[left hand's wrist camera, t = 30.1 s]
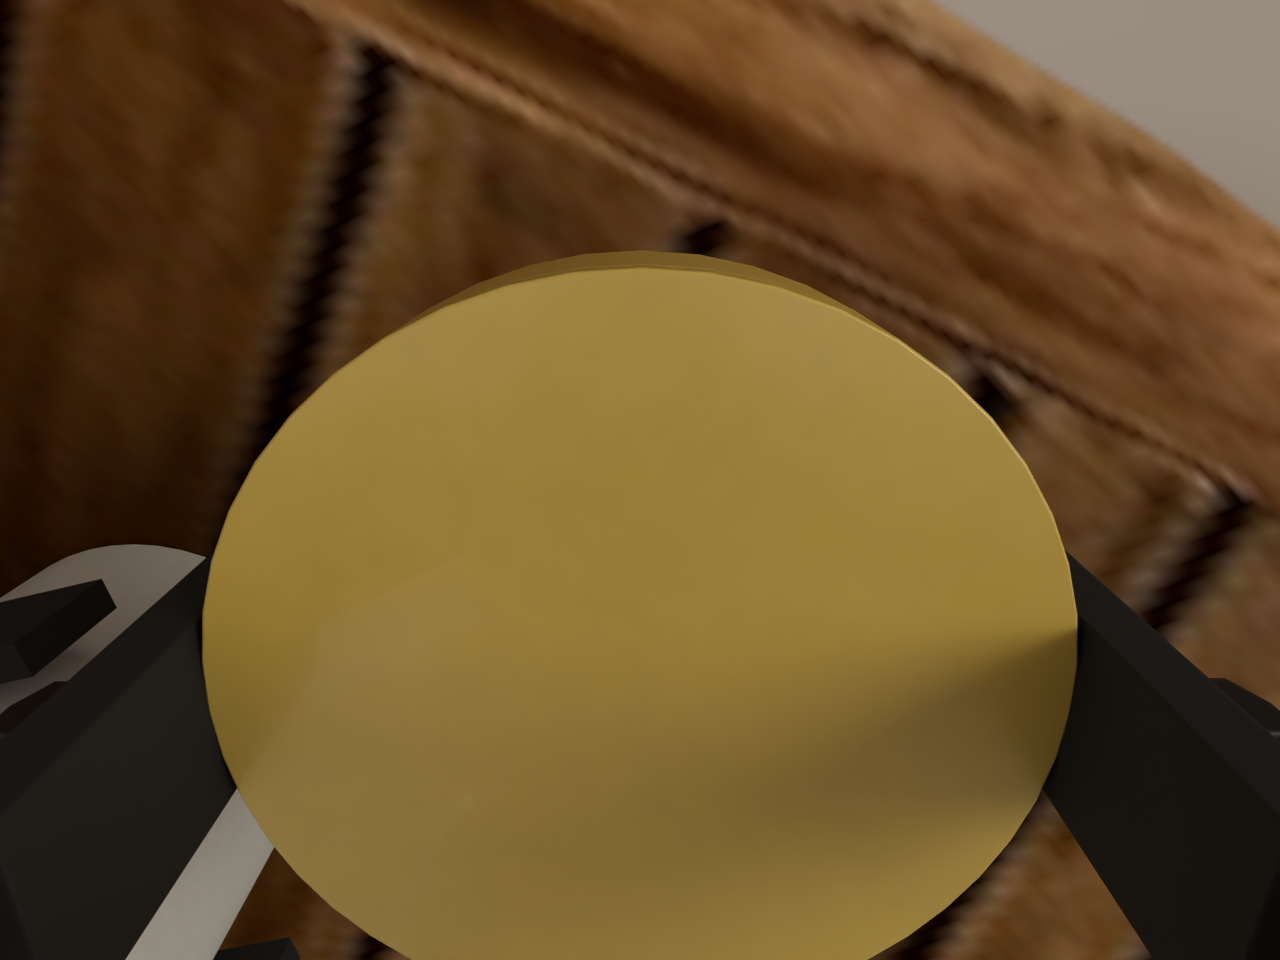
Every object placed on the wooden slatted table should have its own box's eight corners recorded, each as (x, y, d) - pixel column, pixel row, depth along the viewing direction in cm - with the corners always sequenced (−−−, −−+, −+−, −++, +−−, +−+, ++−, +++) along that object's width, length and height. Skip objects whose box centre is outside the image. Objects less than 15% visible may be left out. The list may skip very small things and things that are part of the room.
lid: (801, 972, 15) (825, 1090, 13) (198, 785, 13) (125, 887, 12) (1161, 442, 11) (1269, 496, 9) (392, 101, 10) (332, 85, 8)
